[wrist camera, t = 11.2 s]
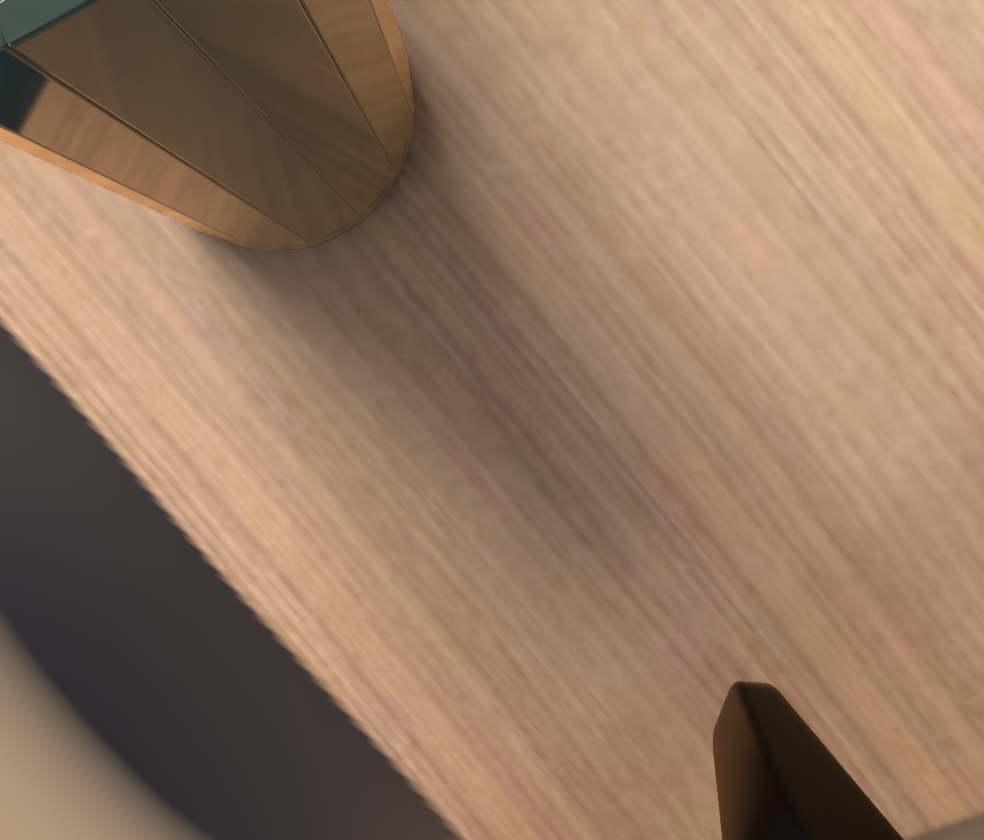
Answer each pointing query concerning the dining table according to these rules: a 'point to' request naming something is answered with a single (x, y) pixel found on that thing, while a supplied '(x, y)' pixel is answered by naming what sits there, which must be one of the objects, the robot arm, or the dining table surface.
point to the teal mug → (215, 107)
